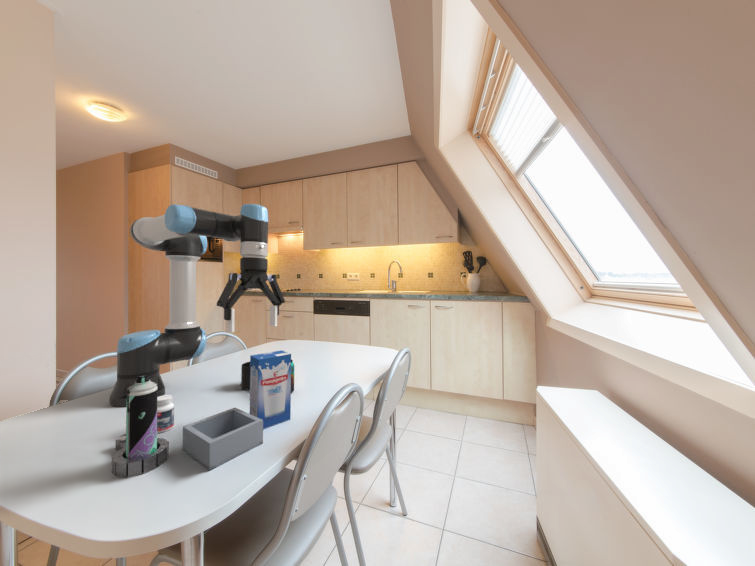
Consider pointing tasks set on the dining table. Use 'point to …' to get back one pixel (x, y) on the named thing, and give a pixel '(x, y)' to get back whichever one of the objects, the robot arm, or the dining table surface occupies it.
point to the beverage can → (292, 376)
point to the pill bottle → (165, 413)
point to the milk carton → (270, 387)
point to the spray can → (141, 418)
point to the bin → (222, 437)
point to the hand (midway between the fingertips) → (253, 328)
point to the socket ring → (137, 459)
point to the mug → (245, 376)
